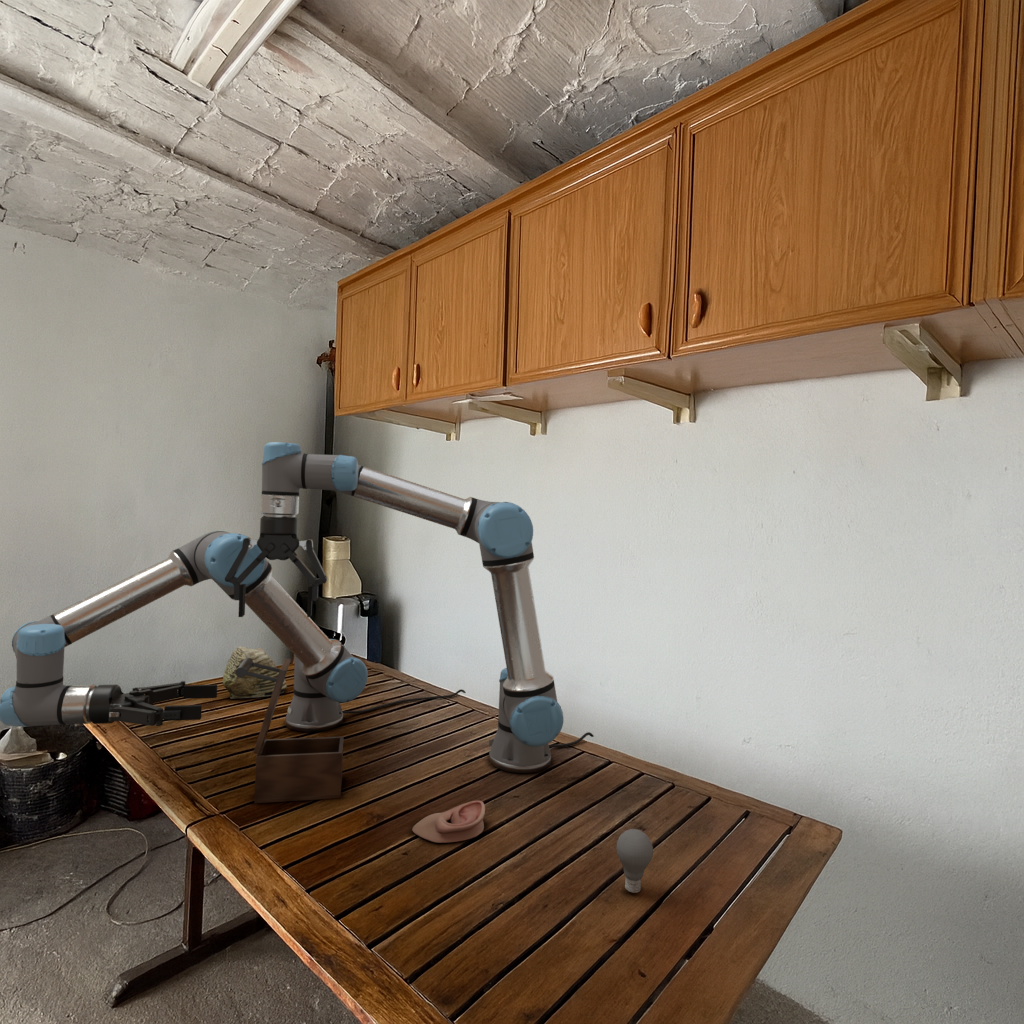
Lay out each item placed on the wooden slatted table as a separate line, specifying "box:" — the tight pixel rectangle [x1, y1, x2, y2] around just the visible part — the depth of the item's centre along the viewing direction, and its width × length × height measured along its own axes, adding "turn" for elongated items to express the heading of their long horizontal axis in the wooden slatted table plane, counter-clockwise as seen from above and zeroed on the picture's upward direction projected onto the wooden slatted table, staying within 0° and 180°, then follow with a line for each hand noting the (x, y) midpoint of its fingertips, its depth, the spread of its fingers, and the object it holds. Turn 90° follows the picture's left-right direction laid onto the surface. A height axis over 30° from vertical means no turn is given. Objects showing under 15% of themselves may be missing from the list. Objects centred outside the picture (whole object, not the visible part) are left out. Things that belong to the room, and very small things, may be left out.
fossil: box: [222, 646, 288, 699], centre depth 198 cm, size 9×18×15 cm, turn 132°
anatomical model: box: [411, 800, 486, 844], centre depth 123 cm, size 13×4×12 cm
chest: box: [253, 735, 345, 804], centre depth 136 cm, size 17×9×10 cm, turn 103°
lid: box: [236, 657, 292, 755], centre depth 134 cm, size 18×9×9 cm
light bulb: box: [615, 828, 654, 894], centre depth 106 cm, size 6×6×10 cm
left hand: (209, 701), depth 132 cm, fingers open, 13 cm apart
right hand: (275, 616), depth 134 cm, fingers open, 13 cm apart
